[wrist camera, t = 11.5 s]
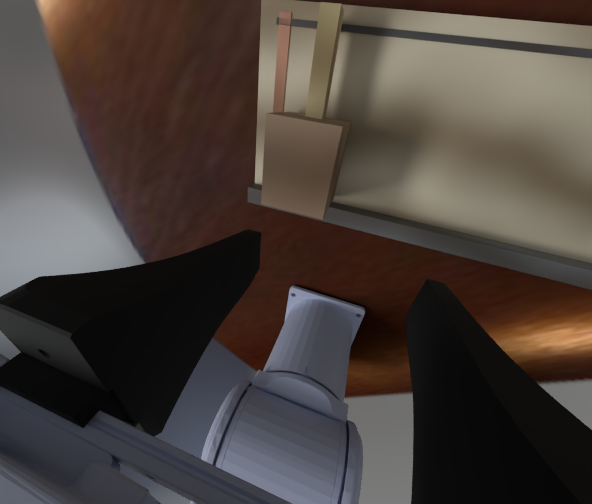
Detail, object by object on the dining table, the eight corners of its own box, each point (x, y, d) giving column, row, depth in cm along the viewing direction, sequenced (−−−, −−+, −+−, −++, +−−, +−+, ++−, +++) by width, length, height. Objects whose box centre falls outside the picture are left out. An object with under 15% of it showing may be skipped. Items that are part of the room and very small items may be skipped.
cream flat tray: (639, 287, 16) (679, 315, 14) (261, 194, 21) (247, 204, 19) (915, 66, 10) (1072, 55, 7) (271, 6, 15) (252, -12, 12)
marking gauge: (333, 198, 18) (322, 219, 14) (282, 186, 18) (260, 204, 15) (375, 18, 12) (372, -14, 9) (300, 11, 13) (272, -21, 10)
